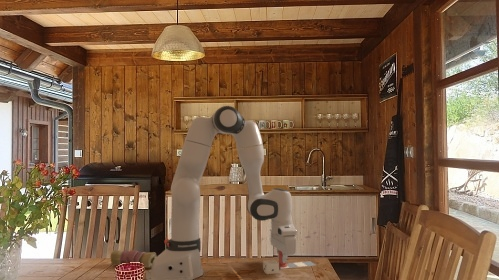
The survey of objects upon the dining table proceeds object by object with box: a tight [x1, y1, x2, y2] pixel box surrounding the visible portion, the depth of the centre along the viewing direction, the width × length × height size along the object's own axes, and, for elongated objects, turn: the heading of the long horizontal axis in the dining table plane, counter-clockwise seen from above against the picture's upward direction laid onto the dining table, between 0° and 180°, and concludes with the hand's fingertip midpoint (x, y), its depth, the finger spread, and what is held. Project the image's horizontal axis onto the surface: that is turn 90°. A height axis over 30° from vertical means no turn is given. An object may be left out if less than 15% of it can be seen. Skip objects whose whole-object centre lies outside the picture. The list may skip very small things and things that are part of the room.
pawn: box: [278, 250, 288, 267], centre depth 159 cm, size 4×4×7 cm
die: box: [262, 259, 280, 275], centre depth 152 cm, size 6×5×5 cm
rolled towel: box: [110, 249, 158, 268], centre depth 164 cm, size 8×8×20 cm
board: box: [279, 260, 316, 270], centre depth 161 cm, size 16×6×1 cm, turn 106°
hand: (282, 260), depth 159 cm, fingers closed on pawn, 3 cm apart
